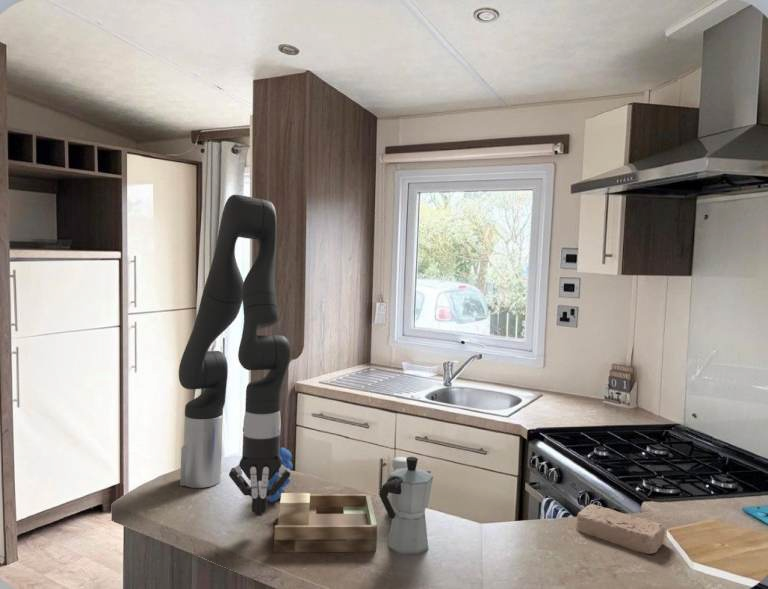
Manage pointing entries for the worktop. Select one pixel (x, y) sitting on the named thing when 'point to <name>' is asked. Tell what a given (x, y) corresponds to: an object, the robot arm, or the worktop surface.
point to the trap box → (331, 526)
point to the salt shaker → (396, 464)
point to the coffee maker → (408, 508)
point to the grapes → (285, 458)
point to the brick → (621, 528)
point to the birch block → (294, 509)
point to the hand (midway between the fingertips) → (258, 514)
